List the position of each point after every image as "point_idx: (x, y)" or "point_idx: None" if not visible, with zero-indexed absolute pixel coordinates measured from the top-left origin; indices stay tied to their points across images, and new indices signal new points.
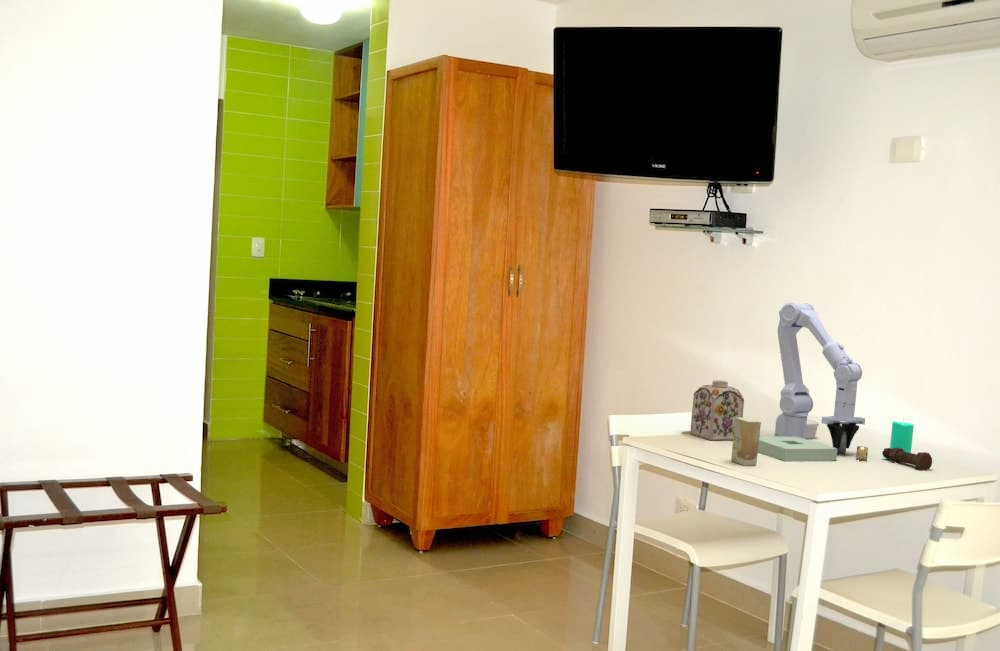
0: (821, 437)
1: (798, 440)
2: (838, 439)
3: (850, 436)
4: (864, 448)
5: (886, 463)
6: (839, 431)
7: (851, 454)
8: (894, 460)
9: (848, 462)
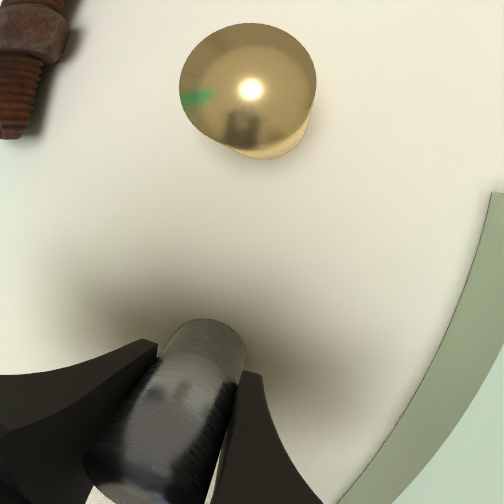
0: None
1: (467, 492)
2: (270, 424)
3: (96, 387)
4: (283, 34)
5: (143, 12)
6: (292, 494)
7: (123, 315)
8: (66, 25)
9: (449, 116)
